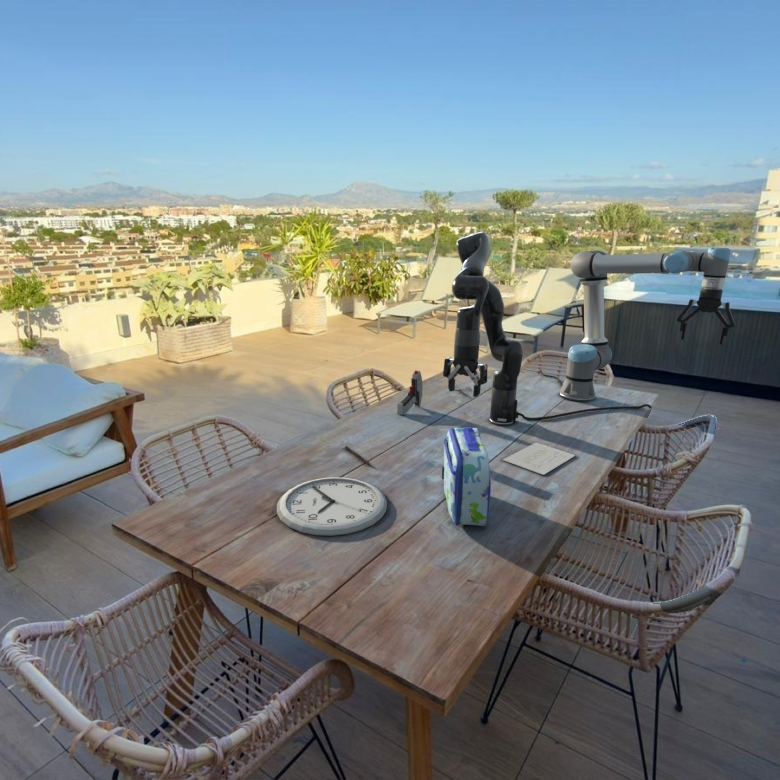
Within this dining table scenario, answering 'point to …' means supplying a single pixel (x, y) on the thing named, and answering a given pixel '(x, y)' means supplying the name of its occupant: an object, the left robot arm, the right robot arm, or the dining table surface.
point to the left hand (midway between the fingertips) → (463, 393)
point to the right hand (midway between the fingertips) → (701, 341)
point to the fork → (459, 390)
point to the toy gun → (412, 394)
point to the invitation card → (539, 458)
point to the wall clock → (331, 506)
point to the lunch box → (466, 477)
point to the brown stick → (357, 455)
